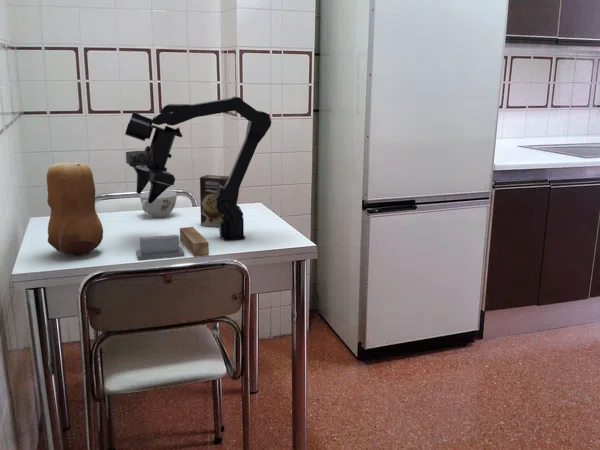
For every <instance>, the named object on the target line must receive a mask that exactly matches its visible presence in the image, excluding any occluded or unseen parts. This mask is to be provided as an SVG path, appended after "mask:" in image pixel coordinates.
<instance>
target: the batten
mask: <svg viewBox="0 0 600 450" xmlns="http://www.w3.org/2000/svg"><path fill="white" fill-rule="evenodd" d="M179 241H180V242H181V243H182V244H183V245H184V246H185V248H186V249H187V251H189V252H190V254H192V256H194V257H204V256H209V255H210V251H209V250H210V249H209V246H210V245H209V241H208V240H207V239H206V238H205V237H204V236H203V234H201V233H200V232H199V231H198V230H197V229H196V228H195V227H194V226H188V227H187V226H185V227H179Z"/></svg>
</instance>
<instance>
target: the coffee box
mask: <svg viewBox="0 0 600 450" xmlns="http://www.w3.org/2000/svg"><path fill="white" fill-rule="evenodd" d="M229 176H230V175H229ZM229 176H227V175H216V174H215V175H213V174H211V175H210V174H206V175H202V176H200V177H199V194H200V195H199V197H200V200H199V201H200V202H199V203H200V204H199V205H200V226H201V227H209V228H210V227H213V228H219V222H221V217H224V215H223V214H221V213H220V212H219V211H218V210H217V208H216V205H215V198H214V195H215V194H216V193H217V190H218V186H219V184H220V185H221V186H224V185H225V183H226V182H227V181H228V178H229Z"/></svg>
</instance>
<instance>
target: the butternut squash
mask: <svg viewBox="0 0 600 450" xmlns="http://www.w3.org/2000/svg"><path fill="white" fill-rule="evenodd" d="M46 172H47V173H46V185H47V188H46V190H47V201H46V202H47V205H48V206H49V208H50V215H49V221H48V225H47V237H48V238H47V242H48V244H49V245H51V247H53V248H54V249H55V250H56V251H57V252H59V253H63V254H66V255H74V256H76V257H77V256H78V257H79V256H85V255H89V254H90V253H91V252H92V251H94V250H95V249H97V248H98V247H99V246H100V244H101V243H102V241H103V239H104V228H103V224H102V222H101V219H100V217H99V215H98V214H97V210H96V186H95V180H94V175H93V172H92V169H91V168H90V167H89V166H88V165H87V164H86V163H83V162H64V161H61V162H56V163H54V164H51V166H49V167H48V169H47V171H46Z"/></svg>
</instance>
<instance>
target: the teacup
mask: <svg viewBox="0 0 600 450" xmlns="http://www.w3.org/2000/svg"><path fill="white" fill-rule="evenodd" d="M149 192H150V191H147V192H146V191H145V192H143V193H142V192H141V193H140V194H139V198H140V203H141V206H142V207H141V208H142V211H144V213H146V214H149V215H150V216H151V218H156V217H160V218H167V217H169V215H170V214H171V212H173V210H174V208H175V206H176V203H177V197H178V195H177V192H176V191H172V190H171V191H170V190H169V191H168V190H167V191H166V190H165V191H164V192H162V193H161V194H160V195H159V196H158V197H157V198H156V199H155V200H154V201H153V202H152V203H148V197H149ZM166 216H167V217H166Z"/></svg>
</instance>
